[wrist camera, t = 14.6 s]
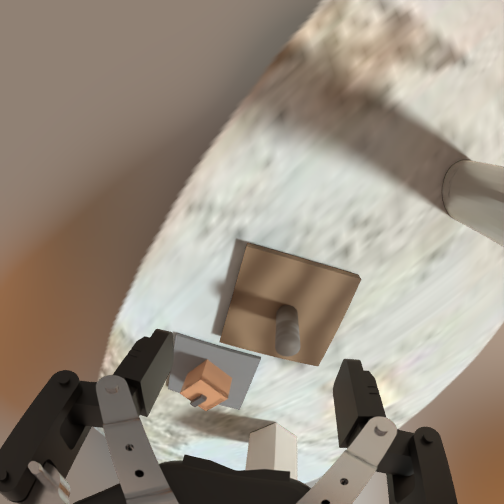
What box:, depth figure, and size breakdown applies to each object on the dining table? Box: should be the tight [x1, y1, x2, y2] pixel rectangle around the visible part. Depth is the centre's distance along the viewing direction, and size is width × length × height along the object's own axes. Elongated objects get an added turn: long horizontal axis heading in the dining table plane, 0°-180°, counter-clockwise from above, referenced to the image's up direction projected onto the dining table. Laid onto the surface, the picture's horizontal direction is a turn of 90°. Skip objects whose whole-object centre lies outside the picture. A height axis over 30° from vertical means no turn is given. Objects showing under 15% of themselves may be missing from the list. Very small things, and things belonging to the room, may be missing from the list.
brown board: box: [220, 243, 361, 366], centre depth 38 cm, size 16×16×9 cm
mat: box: [168, 333, 261, 410], centre depth 48 cm, size 14×14×1 cm
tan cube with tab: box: [180, 359, 232, 411], centre depth 45 cm, size 6×6×6 cm
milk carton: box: [245, 423, 297, 480], centre depth 44 cm, size 7×7×19 cm
